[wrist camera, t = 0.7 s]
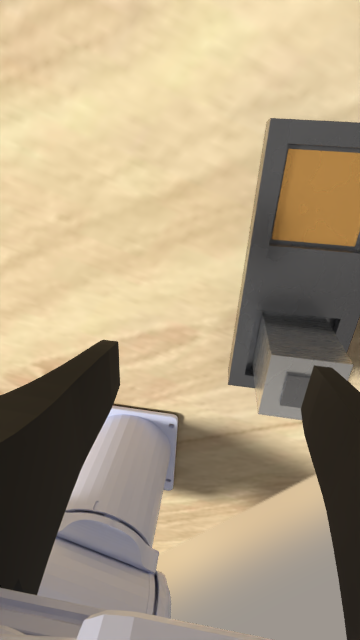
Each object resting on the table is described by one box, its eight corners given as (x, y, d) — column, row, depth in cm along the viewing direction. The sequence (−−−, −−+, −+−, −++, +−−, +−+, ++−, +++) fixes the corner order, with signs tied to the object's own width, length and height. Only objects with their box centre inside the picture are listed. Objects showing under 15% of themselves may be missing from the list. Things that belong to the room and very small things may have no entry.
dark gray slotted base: (323, 381, 23) (330, 398, 22) (228, 369, 24) (228, 384, 23) (407, 129, 16) (427, 126, 14) (266, 122, 17) (270, 118, 15)
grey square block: (310, 370, 22) (332, 426, 17) (252, 363, 22) (258, 416, 18) (326, 319, 20) (354, 367, 16) (262, 312, 21) (271, 356, 16)
